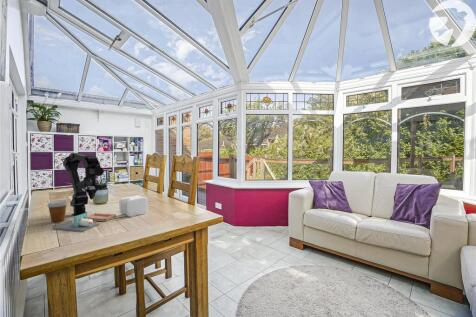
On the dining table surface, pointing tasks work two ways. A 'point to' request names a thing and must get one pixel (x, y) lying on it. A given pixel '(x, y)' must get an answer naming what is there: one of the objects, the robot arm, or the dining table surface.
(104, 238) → the dining table surface
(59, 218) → the disposable coffee cup
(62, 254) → the dining table surface
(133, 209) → the cable organizer
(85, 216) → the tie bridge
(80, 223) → the white bottle
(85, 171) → the robot arm
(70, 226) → the board
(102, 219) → the tray
